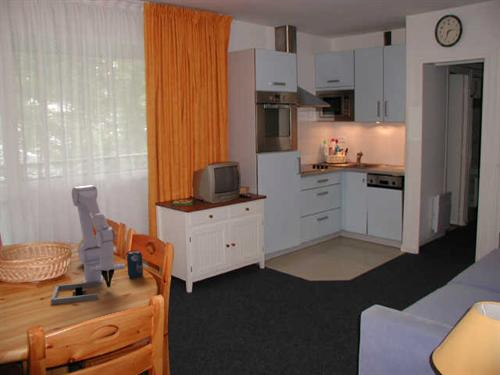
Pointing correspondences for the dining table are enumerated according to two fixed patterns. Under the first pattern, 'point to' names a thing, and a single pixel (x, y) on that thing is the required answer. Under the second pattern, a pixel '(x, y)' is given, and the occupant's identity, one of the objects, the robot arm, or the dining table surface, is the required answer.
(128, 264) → the soda can
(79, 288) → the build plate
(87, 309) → the dining table surface
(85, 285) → the truck bay
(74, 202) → the robot arm
